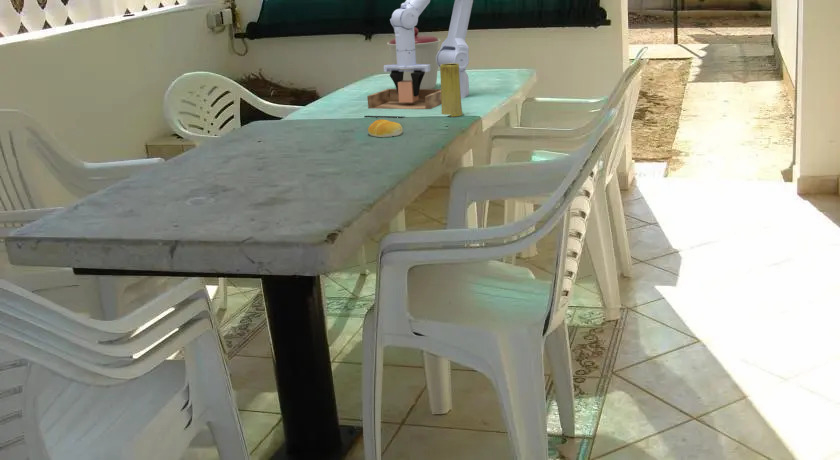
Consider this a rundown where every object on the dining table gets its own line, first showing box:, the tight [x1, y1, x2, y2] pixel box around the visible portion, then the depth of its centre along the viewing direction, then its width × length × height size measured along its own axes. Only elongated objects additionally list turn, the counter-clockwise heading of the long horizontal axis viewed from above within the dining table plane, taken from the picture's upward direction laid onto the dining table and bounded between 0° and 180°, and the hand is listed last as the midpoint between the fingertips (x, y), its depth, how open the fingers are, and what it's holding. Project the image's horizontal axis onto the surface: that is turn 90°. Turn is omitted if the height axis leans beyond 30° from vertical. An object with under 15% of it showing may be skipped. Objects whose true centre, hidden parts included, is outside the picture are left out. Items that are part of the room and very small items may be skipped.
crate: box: [366, 88, 442, 110], centre depth 267 cm, size 14×20×4 cm
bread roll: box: [367, 118, 403, 138], centre depth 227 cm, size 8×9×4 cm
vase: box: [439, 63, 464, 118], centre depth 247 cm, size 6×6×14 cm
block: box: [398, 80, 419, 102], centre depth 267 cm, size 4×4×6 cm
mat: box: [364, 115, 405, 119], centre depth 257 cm, size 10×12×1 cm
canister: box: [386, 26, 442, 89], centre depth 298 cm, size 18×18×21 cm
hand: (408, 95), depth 267 cm, fingers closed on block, 4 cm apart
